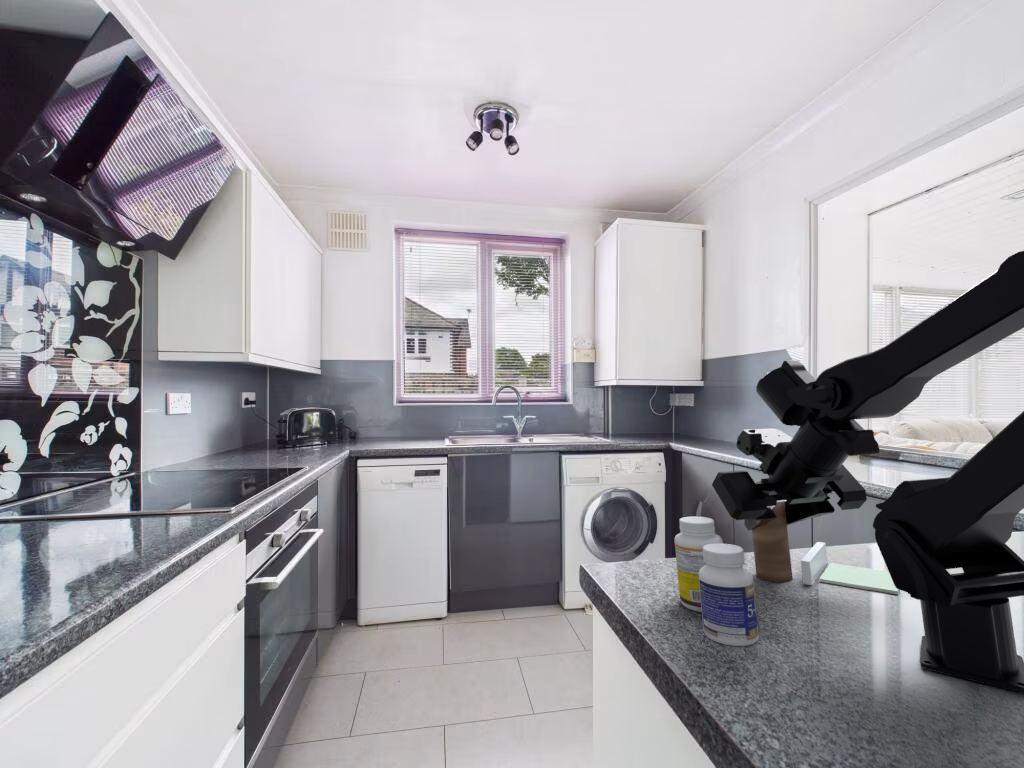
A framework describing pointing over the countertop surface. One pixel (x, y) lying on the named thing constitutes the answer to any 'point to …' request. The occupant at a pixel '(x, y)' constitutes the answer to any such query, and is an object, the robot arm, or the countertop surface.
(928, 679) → the countertop surface
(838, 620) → the countertop surface
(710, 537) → the supplement bottle
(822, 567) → the rail
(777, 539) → the pepper mill
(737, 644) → the pill bottle
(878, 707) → the countertop surface
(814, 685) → the countertop surface
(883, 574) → the coaster
